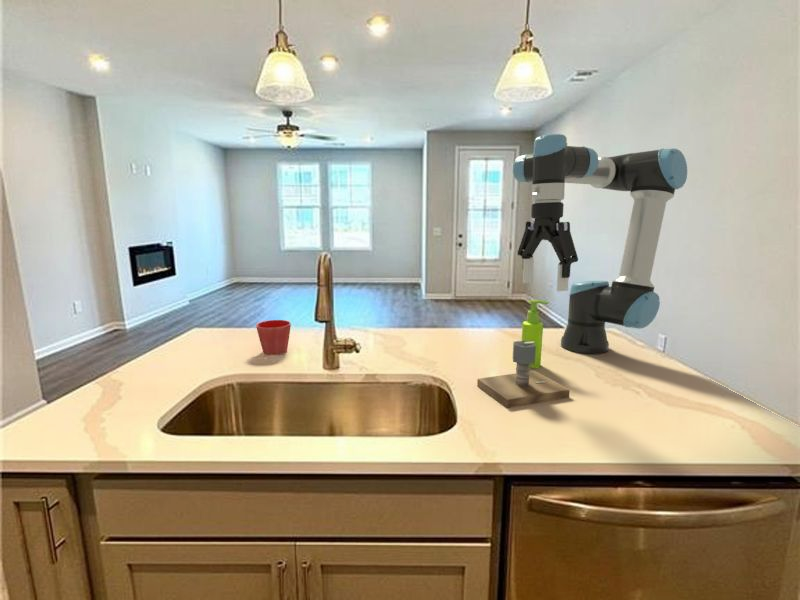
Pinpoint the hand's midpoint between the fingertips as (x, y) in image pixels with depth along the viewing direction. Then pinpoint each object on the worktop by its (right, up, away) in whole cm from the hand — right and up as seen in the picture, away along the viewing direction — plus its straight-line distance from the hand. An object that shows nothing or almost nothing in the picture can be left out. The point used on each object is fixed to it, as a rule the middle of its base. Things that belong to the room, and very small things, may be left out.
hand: (544, 286), depth 109 cm
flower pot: (-79, -21, +33) cm, 88 cm away
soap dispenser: (+3, -23, +20) cm, 31 cm away
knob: (-6, -19, -1) cm, 20 cm away
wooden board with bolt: (-6, -27, 0) cm, 28 cm away
